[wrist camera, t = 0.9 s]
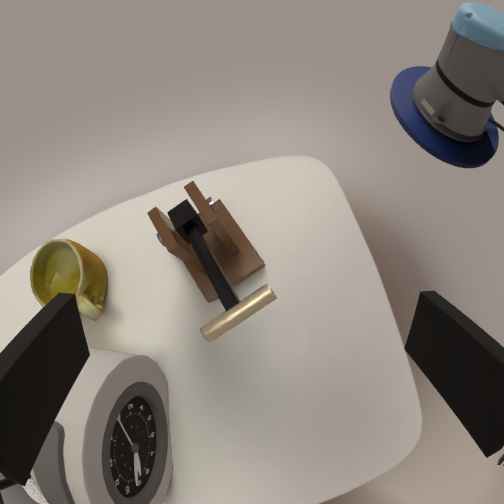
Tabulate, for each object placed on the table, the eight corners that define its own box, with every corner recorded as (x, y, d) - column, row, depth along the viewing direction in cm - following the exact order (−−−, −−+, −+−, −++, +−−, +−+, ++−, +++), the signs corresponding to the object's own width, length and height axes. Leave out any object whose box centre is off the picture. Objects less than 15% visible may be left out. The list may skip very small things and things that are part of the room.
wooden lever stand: (265, 265, 37) (251, 234, 25) (209, 302, 37) (170, 289, 24) (221, 202, 40) (192, 150, 27) (170, 237, 39) (123, 200, 27)
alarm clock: (175, 492, 31) (106, 572, 12) (128, 481, 32) (45, 542, 13) (167, 349, 36) (60, 362, 17) (116, 344, 37) (2, 346, 18)
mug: (40, 279, 38) (11, 263, 29) (88, 240, 42) (70, 214, 33) (82, 346, 38) (58, 346, 28) (133, 304, 42) (122, 294, 32)
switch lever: (281, 304, 21) (271, 288, 19) (215, 347, 21) (199, 336, 19) (212, 205, 29) (201, 188, 28) (166, 237, 29) (152, 222, 27)
